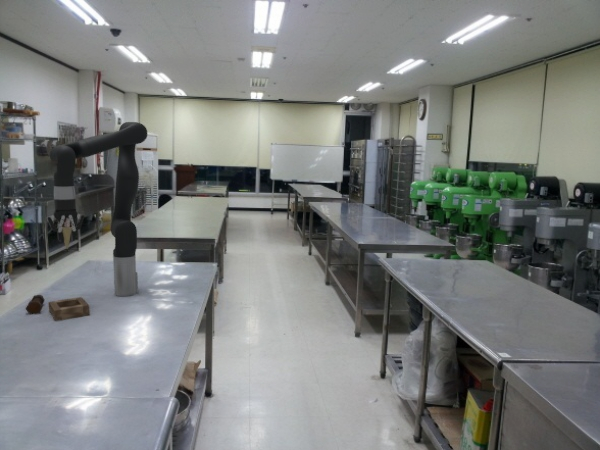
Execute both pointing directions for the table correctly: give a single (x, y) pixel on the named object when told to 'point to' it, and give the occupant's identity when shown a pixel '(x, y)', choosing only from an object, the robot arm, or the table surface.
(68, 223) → the ice cream cone
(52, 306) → the wooden square frame
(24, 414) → the table surface
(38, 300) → the bolt
